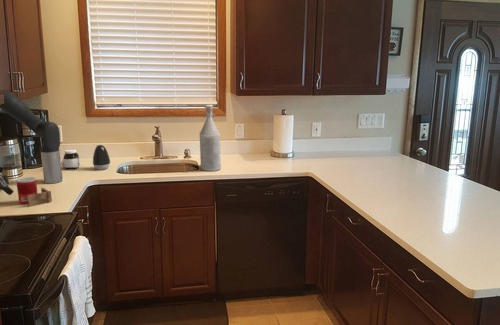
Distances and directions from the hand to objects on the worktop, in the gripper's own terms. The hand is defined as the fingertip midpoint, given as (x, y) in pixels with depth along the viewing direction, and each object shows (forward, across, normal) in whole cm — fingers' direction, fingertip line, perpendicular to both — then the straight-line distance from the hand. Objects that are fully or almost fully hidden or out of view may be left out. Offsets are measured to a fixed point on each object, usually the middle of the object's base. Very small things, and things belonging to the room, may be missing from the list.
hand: (11, 193), depth 193 cm
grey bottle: (+64, +68, -57) cm, 109 cm away
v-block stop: (+13, 0, -7) cm, 15 cm away
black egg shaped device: (+16, +66, -9) cm, 68 cm away
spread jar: (+1, +68, +6) cm, 68 cm away
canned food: (+8, 0, -2) cm, 9 cm away
